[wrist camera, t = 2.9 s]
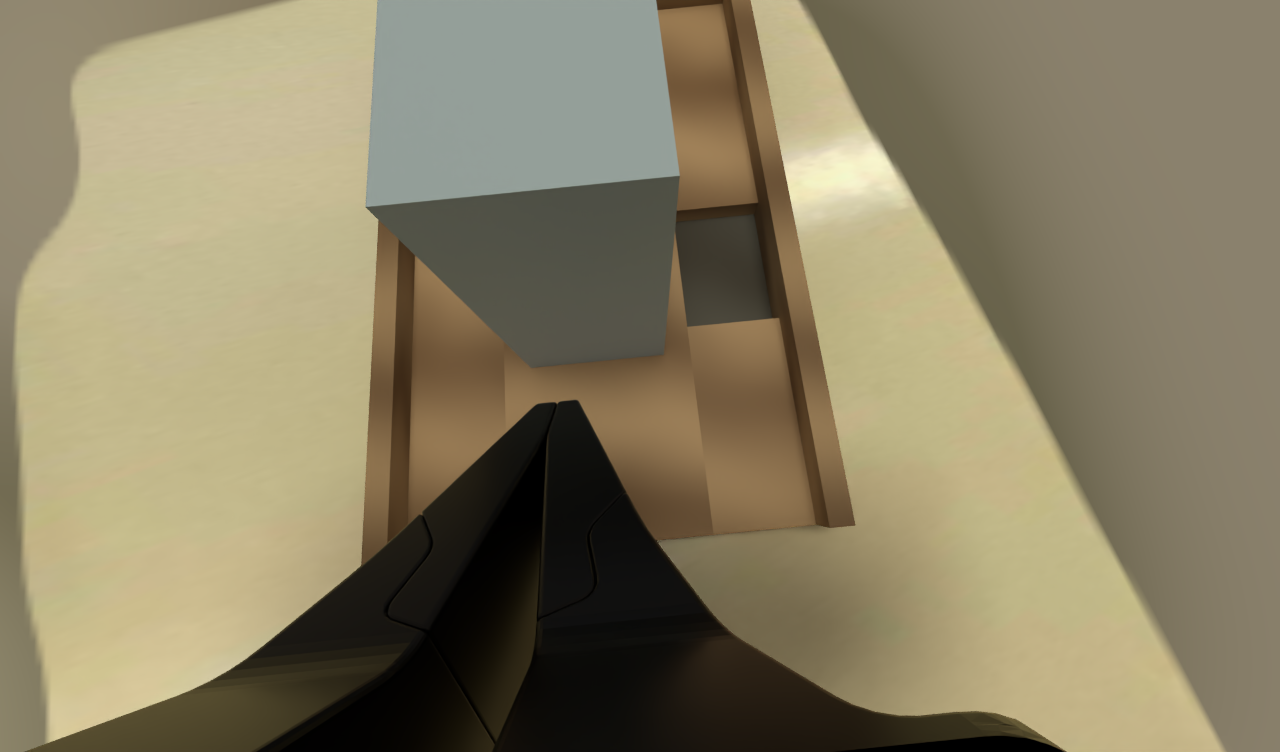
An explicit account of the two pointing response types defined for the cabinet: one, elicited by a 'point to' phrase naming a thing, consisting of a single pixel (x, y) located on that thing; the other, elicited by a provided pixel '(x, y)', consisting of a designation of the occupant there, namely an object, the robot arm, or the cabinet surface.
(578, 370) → the tray
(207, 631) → the cabinet surface
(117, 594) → the cabinet surface
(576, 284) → the slate block
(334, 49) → the cabinet surface
